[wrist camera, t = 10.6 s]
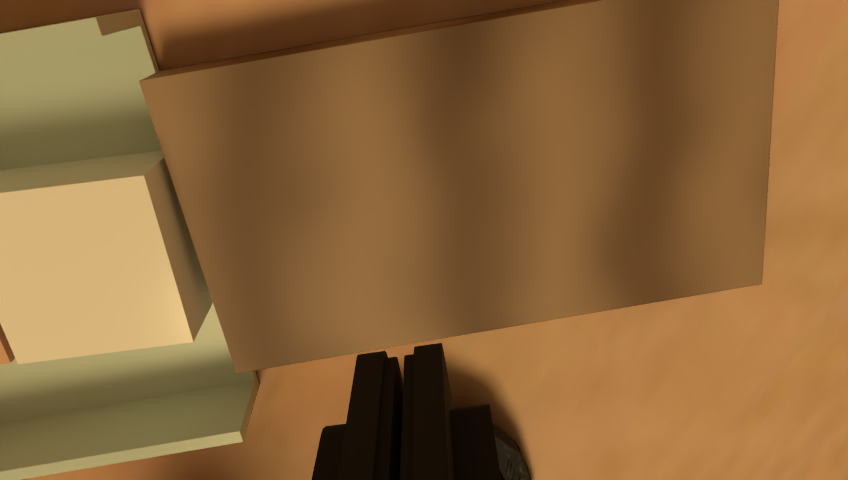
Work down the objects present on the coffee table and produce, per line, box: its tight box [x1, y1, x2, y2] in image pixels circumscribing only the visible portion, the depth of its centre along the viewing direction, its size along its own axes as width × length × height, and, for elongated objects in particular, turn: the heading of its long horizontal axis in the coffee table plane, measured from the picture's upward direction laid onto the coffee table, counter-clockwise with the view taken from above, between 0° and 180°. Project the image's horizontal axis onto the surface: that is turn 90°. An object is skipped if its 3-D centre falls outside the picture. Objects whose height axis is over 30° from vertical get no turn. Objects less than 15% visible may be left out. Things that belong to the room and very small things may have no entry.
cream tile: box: [0, 151, 213, 364], centre depth 22 cm, size 6×6×3 cm
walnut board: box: [139, 0, 779, 373], centre depth 23 cm, size 20×11×2 cm, turn 99°
